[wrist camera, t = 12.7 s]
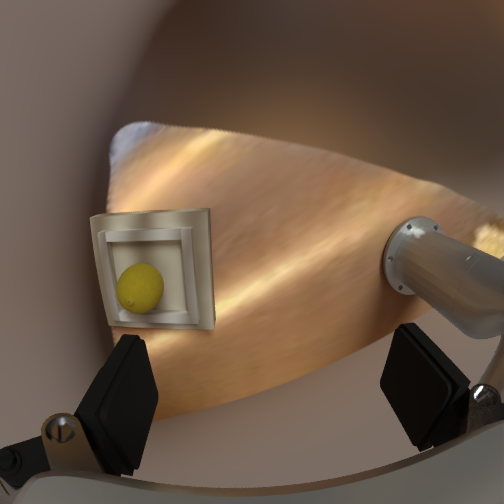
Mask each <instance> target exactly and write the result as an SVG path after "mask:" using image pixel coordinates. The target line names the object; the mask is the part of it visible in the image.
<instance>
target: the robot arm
mask: <svg viewBox="0 0 504 504" xmlns="http://www.w3.org/2000/svg"><path fill="white" fill-rule="evenodd" d="M383 269H384V274H385V277H386V280H387V281H388V283H389V284H390V286H391V287H392V288H394V289H395V290H396V291H397V292H399V293H401V294H404V295H415V294H417V295H418V296H420V297H421V298H422V299H423V300H424V301H426V302H427V303H428V304H429V305H431V306H432V307H433V308H434V309H436V310H437V311H438V312H439V313H440V314H442V315H443V316H444V317H445V318H446V319H447V320H449V321H450V322H451V323H452V324H454V326H456V327H457V328H458V329H459V330H461V331H462V332H463V333H464V334H465V335H467V336H469V337H471V338H474V339H488V338H492V337H496V336H499V335H501V340H500V342H499V345H498V347H497V349H496V351H495V354H494V356H493V358H492V360H491V362H490V363H489V365H488V367H487V368H486V370H485V372H484V374H483V375H482V377H481V379H480V380H479V382H478V384H476V385H475V386H473V387H472V388H471V390H470V389H469V388H468V386H469V384H470V380H469V379H468V378H467V377H466V376H465V375H464V374H463V373H462V372H461V371H460V369H459V368H458V367H457V366H456V365H455V364H454V363H453V362H452V361H451V360H450V359H449V358H448V357H447V356H446V355H445V354H444V352H443V351H441V349H440V348H439V347H438V346H437V345H436V344H435V343H434V342H433V341H432V340H431V339H430V338H429V337H428V336H427V335H426V334H425V333H424V332H423V331H422V330H421V329H420V328H419V327H418V326H417V325H416V324H415V323H405V324H401V325H399V327H398V328H397V329H396V330H395V332H394V336H393V339H392V343H391V347H390V350H389V354H388V357H387V360H386V364H385V367H384V370H383V373H382V376H381V379H380V387H381V389H382V391H383V393H384V394H385V396H386V398H387V400H388V401H389V403H390V404H391V407H392V408H393V410H394V412H395V414H396V415H397V417H398V419H399V421H400V422H401V424H402V426H403V428H404V430H405V432H406V433H407V435H408V437H409V439H410V441H411V442H412V444H413V445H414V446H417V448H418V450H419V451H420V452H421V451H424V450H426V449H429V448H431V447H432V445H433V446H434V448H432V449H430V450H428V451H425V452H423V453H420V454H418V455H415V456H412V457H409V458H407V459H404V460H401V461H398V462H395V463H392V464H389V465H385V466H382V467H379V468H375V469H372V470H368V471H364V472H360V473H356V474H352V475H348V476H343V477H338V478H333V479H328V480H322V481H316V482H310V483H303V484H295V485H285V486H274V487H258V488H207V487H191V486H181V485H171V484H163V483H155V482H148V481H142V480H137V479H131V478H125V477H121V474H124V475H129V476H133V471H134V469H136V470H137V469H138V468H139V466H140V463H141V459H142V455H143V451H144V448H145V444H146V440H147V436H148V433H149V430H150V426H151V423H152V419H153V416H154V413H155V409H156V406H157V403H158V391H157V387H156V384H155V380H154V376H153V373H152V369H151V365H150V361H149V357H148V353H147V349H146V344H145V341H144V340H143V339H140V337H139V336H138V335H128V334H123V335H122V337H121V338H120V340H119V341H118V343H117V345H116V346H115V348H114V349H113V351H112V353H111V354H110V356H109V357H108V359H107V361H106V362H105V364H104V366H103V367H102V368H101V369H100V370H99V372H98V373H97V375H96V377H95V379H94V380H93V382H92V384H91V385H90V387H89V389H88V390H87V392H86V394H85V396H84V397H83V399H82V401H81V403H80V404H79V406H78V408H77V410H76V412H75V413H74V415H71V414H68V413H58V414H54V415H52V416H50V417H49V418H48V419H46V420H45V422H44V423H43V425H42V428H41V436H38V437H35V438H32V439H29V440H26V441H23V442H20V443H17V444H13V445H10V446H7V447H4V448H2V449H0V504H504V261H502V260H501V259H498V258H496V257H494V256H492V255H490V254H488V253H485V252H483V251H481V250H479V249H476V248H474V247H472V246H470V245H467V244H465V243H463V242H460V241H458V240H455V239H453V238H451V237H448V236H446V235H445V234H444V232H443V230H442V228H441V227H440V226H439V224H438V223H436V222H435V221H434V220H432V219H430V218H426V217H419V216H418V217H413V218H410V219H408V220H406V221H404V222H403V223H402V224H400V225H399V226H398V227H397V228H396V229H395V231H394V232H393V234H392V235H391V236H390V238H389V240H388V243H387V245H386V248H385V251H384V257H383Z"/></svg>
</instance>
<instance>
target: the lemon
mask: <svg viewBox="0 0 504 504" xmlns="http://www.w3.org/2000/svg"><path fill="white" fill-rule="evenodd" d="M163 291H164V281H163V278H162V276H161V274H160V272H159V271H158V270H157V269H156V268H155V267H153V266H151V265H149V264H146V263H138V264H134V265H132V266H130V267H128V268H127V269H126V270H125V271H124V272H123V273H122V274H121V276H120V278H119V280H118V282H117V287H116V295H117V298H118V301H119V303H120V305H121V306H122V307H123V308H124V309H126V310H127V311H129V312H131V313H135V314H142V313H146V312H148V311H150V310H151V309H153V308H154V307H155V306H156V305H157V304H158V303H159V302H160V300H161V298H162V295H163Z"/></svg>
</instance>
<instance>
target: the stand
mask: <svg viewBox="0 0 504 504" xmlns="http://www.w3.org/2000/svg"><path fill="white" fill-rule="evenodd" d="M90 223H91V232H92V240H93V247H94V254H95V261H96V267H97V272H98V278H99V283H100V288H101V293H102V298H103V302H104V307H105V311H106V315H107V319H108V323H109V326H123V327H139V328H159V329H197V330H214V327H215V321H216V315H215V301H214V285H213V267H212V247H211V222H210V208H200V209H174V210H153V211H136V212H120V213H106V214H98V215H96V216H93V217H91V218H90ZM138 263H146V264H149V265H151V266H153V267H155V268H156V269H157V270H158V271H159V272H160V274H161V276H162V278H163V281H164V291H163V295H162V298H161V300H160V302H159V303H158V304H157V305H156V306H155V307H154V308H153V309H151V310H150V311H148V312H146V313H142V314H135V313H131V312H129V311H127V310H126V309H124V308H123V307H122V306H121V305H120V303H119V301H118V298H117V295H116V287H117V282H118V280H119V278H120V276H121V274H122V273H123V272H124V271H125V270H126V269H127V268H128V267H130V266H132V265H134V264H138Z"/></svg>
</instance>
